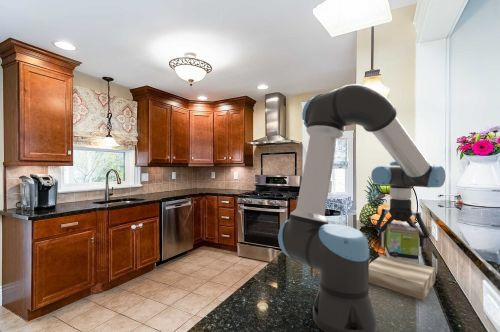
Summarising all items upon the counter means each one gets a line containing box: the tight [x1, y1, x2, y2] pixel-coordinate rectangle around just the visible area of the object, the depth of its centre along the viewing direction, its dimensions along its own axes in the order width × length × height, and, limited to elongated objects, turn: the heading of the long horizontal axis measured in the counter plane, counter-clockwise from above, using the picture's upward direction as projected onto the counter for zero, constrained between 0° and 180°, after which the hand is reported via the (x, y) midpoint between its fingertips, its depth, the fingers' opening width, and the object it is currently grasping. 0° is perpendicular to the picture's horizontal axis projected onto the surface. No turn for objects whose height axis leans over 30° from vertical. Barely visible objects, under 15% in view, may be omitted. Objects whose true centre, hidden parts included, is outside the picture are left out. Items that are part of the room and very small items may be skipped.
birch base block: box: [369, 254, 436, 301], centre depth 84 cm, size 17×17×5 cm
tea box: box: [384, 220, 420, 264], centre depth 101 cm, size 15×10×15 cm
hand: (400, 250), depth 101 cm, fingers closed on tea box, 12 cm apart
